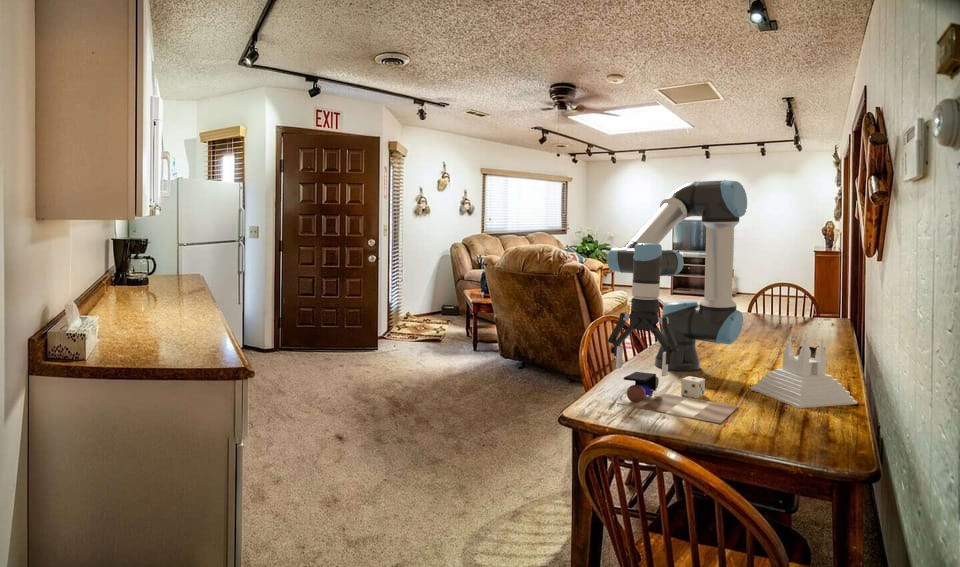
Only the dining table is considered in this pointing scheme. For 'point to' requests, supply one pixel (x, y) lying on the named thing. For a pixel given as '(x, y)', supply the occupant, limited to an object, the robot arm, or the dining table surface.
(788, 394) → the castle model
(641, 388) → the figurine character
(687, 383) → the die
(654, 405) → the board
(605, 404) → the dining table surface
